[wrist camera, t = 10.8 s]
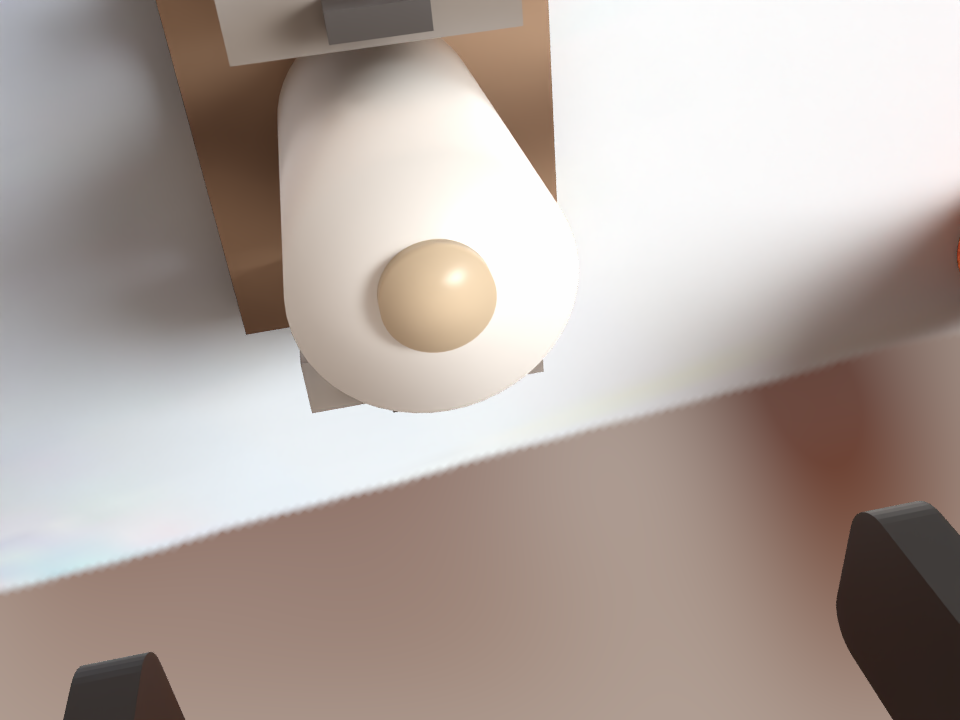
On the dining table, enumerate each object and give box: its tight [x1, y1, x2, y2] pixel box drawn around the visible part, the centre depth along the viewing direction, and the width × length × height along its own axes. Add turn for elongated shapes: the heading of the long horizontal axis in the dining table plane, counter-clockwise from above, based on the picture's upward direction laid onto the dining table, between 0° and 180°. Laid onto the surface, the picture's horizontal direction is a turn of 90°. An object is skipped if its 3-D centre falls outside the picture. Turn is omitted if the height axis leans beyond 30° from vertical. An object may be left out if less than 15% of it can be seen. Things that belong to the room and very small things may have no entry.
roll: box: [277, 38, 579, 413], centre depth 21 cm, size 6×6×10 cm
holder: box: [156, 0, 557, 413], centre depth 23 cm, size 12×10×9 cm
